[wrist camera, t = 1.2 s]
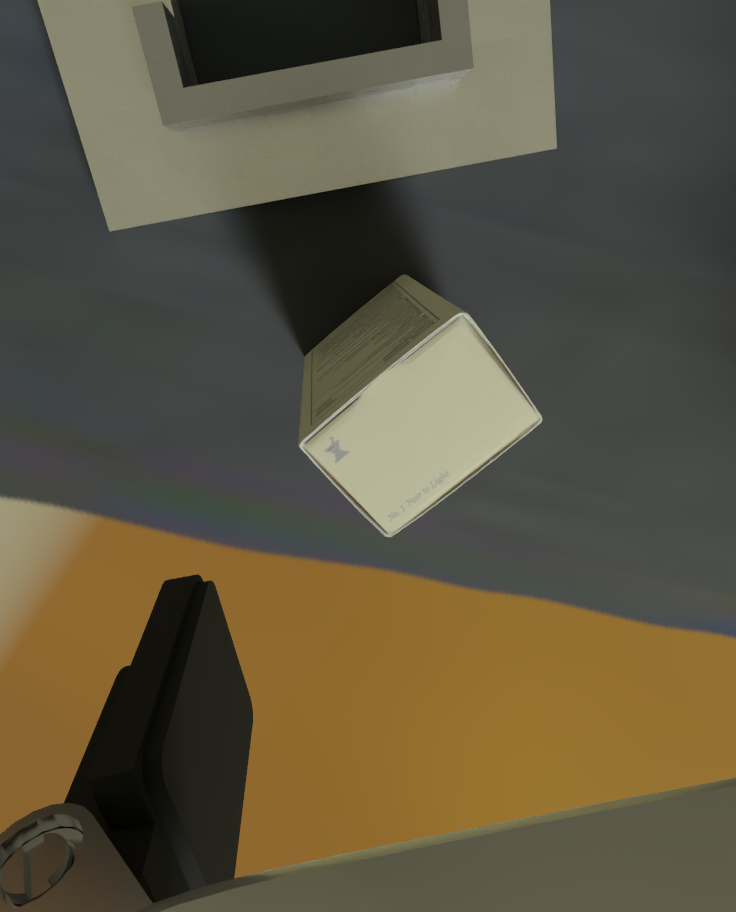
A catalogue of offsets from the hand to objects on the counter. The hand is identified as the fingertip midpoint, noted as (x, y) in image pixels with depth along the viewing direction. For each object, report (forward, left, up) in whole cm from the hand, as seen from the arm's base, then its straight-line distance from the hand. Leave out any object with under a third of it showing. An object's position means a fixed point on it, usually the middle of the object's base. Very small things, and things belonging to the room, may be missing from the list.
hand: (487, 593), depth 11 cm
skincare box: (0, 0, -20) cm, 20 cm away
